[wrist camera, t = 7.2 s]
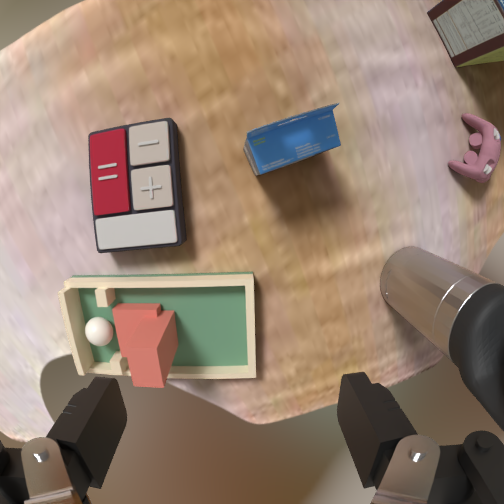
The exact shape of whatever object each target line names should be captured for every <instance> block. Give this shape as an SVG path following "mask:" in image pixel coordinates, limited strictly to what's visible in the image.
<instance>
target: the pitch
mask: <svg viewBox="0 0 504 504" xmlns="http://www.w3.org/2000/svg"><path fill="white" fill-rule="evenodd" d="M64 286H65V288H64V289H62V290H61V291H59V292H58V297H59V302H60V306H61V311H62V316H63V320H64V324H65V328H66V332H67V336H68V340H69V344H70V347H71V351H72V355H73V358H74V361H75V364H76V368H77V371H78V374H79V375H85V374H86V372H89V373H99V374H109V375H120V376H131V373H130V369H129V365H128V360H127V357H122V356H121V351H120V347H119V342H118V338H117V333H116V328H115V323H114V317H113V312H112V309H113V308H114V307H115V306H116V305H117V304H118V303H160V305H161V311H169V310H174V313H175V321H176V329H177V337H178V344H179V345H178V348H177V350H176V353H175V356H174V359H173V362H172V365H171V368H170V371H169V374H168V377H167V378H177V379H234V378H256V355H255V313H254V278H253V272H227V273H192V274H148V275H77V276H72V277H71V278H69V279H67V280H66V281H64ZM94 317H103V318H105V319H107V320H108V321H109V322H110V323H111V325H112V327H113V337H112V340H111V341H110V342H109V343H108V344H107V345H104V346H96V345H93V344H92V343H90V342H89V340H88V339H87V337H86V334H85V327H86V324H87V323H88V321H89V320H90V319H92V318H94Z"/></svg>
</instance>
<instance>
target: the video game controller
mask: <svg viewBox="0 0 504 504" xmlns="http://www.w3.org/2000/svg"><path fill="white" fill-rule="evenodd" d="M462 119H463V120H464V121H465V122H466V123H467V124H468V125H470V126H471V127H473V128H474V129H476V130H478V131H479V132H477V133H474V134H472V135H471V136H470V137H469V142H470V144H471V146H472V147H473V148H474V149H480V153H479V156H477V154H476V153H475V152H474V151H468V152H467V153H466V154H465V155H464V160H465V162H466V164H464V163H462V162H459V161H449V162H448V165H449V167H450V168H451V169H453V170H454V171H456V172H457V173H459V174H462V175H464V176H466V177H469V178H472V179H475V180H476V181H477V182H480V183H484V182H486V181H487V180H489V178H490V177H491V174H492V172H493V171H494V169H495V167H496V166H497V163H498V160H499V157H500V151H501V137H500V134H499V132H498V130H497V128H496V127H495V126H494V125H493V124H491V123H489V122H488V121H486V120H483V119H481V118H479V117H477V116H475V115H472V114H468V113H465V114H462Z"/></svg>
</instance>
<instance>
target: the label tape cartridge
mask: <svg viewBox="0 0 504 504" xmlns="http://www.w3.org/2000/svg"><path fill="white" fill-rule="evenodd" d="M338 104H339V103H336V104H332V105H328V106H325V107H321V108H318V109H314V110H311V111H308V112H304V113H301V114H298V115H294V116H291V117H288V118H285V119H282V120H279V121H276V122H273V123H270V124H267V125H265V126H262V127H259V128H256V129H253V130H251V131H248V132H247V139H246V141H245V145H244V149H243V150H244V152H245V154H246V156H247V159H248V161H249V163H250V165H251V168H252V170H253V172H254V175H255V176H257V175H261V174H264V173H267V172H270V171H273V170H276V169H279V168H282V167H284V166H287V165H290V164H293V163H296V162H299V161H301V160H304V159H307V158H309V157H312V156H315V155H317V154H320V153H322V152H325V151H328V150H330V149H333V148H336V147H338V146H340V145H341V144H340V140H339V135H338V131H337V126H336V122H335V118H334V114H333V109H334V108H335V107H336V106H337V105H338ZM296 118H298V119H296ZM292 119H295V120H292ZM290 120H292V121H290ZM285 122H287V123H285ZM282 123H284V124H282ZM279 124H281V125H279Z"/></svg>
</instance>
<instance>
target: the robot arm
mask: <svg viewBox="0 0 504 504" xmlns="http://www.w3.org/2000/svg"><path fill="white" fill-rule="evenodd" d="M380 288H381V293H382V295H383V298H384V299H385V301H386V302H387V303H388V304H389V305H390V306H391V307H393V308H394V309H395V310H396V311H397V312H398V313H399V314H400V315H402V316H403V317H404V318H405V319H406V320H407V321H408V322H409V323H410V324H412V325H413V326H414V327H415V328H416V329H417V330H418V331H419V332H420V333H422V334H423V335H424V336H425V337H426V338H427V339H428V340H429V341H430V342H431V343H433V344H434V345H435V346H436V347H437V348H438V349H439V350H440V351H441V352H442V353H444V354H445V355H446V356H447V357H448V358H449V359H450V360H451V361H452V362H453V363H454V364H455V365H456V366H457V367H458V368H459V371H460V374H461V377H462V380H463V382H464V384H465V385H466V387H467V388H468V389H469V390H470V392H471V393H472V394H473V395H474V396H475V397H476V399H477V400H478V401H479V402H480V403H481V404H482V406H483V407H484V408H485V409H486V411H487V412H488V413H489V414H490V416H491V417H492V418H493V419H494V421H495V422H496V423H497V424H498V425H499V427H500V428H501V429H502V430H503V431H504V286H503V285H500V284H498V283H496V282H494V281H492V280H490V279H488V278H485V277H483V276H481V275H479V274H477V273H474V272H472V271H470V270H468V269H466V268H464V267H461V266H459V265H457V264H455V263H452V262H450V261H448V260H446V259H443V258H441V257H439V256H437V255H434V254H432V253H430V252H428V251H425V250H423V249H420V248H417V247H406V248H403V249H401V250H399V251H397V252H396V253H395V254H393V255H392V256H391V257H390V259H389V260H388V261H387V263H386V264H385V266H384V268H383V271H382V274H381V279H380ZM337 416H338V422H339V425H340V427H341V430H342V432H343V435H344V438H345V440H346V443H347V445H348V448H349V451H350V453H351V456H352V458H353V461H354V463H355V466H356V468H357V471H358V474H359V477H360V479H361V482H362V485H363V487H364V488H368V487H372V486H375V488H376V490H377V492H376V494H375V495H374V497H373V499H372V501H371V503H370V504H504V445H503V443H502V442H501V441H500V440H499V438H498V437H497V436H496V435H494V434H492V433H490V432H487V431H476V432H473V433H471V434H469V435H468V436H467V437H466V438H465V440H464V443H463V444H460V445H449V446H439V445H438V444H437V443H436V442H435V441H434V440H433V439H432V438H430V437H427V436H424V435H418V434H417V433H416V431H415V429H414V428H413V426H412V424H411V423H410V421H409V420H408V418H407V417H406V415H405V414H404V412H403V411H402V409H400V406H399V404H398V403H397V402H396V401H395V398H394V397H393V396H392V394H391V392H390V391H389V390H388V389H387V388H385V387H384V386H382V385H381V384H379V383H375V384H372V383H371V382H370V380H369V378H368V377H367V375H366V374H365V372H358V373H351V374H344V375H343V376H342V379H341V386H340V393H339V399H338V406H337ZM126 422H127V413H126V408H125V405H124V402H123V398H122V395H121V391H120V388H119V384H118V382H117V380H116V379H115V378H105V377H95V378H94V379H93V381H92V382H91V384H90V385H89V387H88V388H87V389H86V388H83V389H82V390H80V391H79V392H77V393H76V394H75V395H73V397H72V398H71V400H70V401H69V403H68V406H66V408H65V409H64V410H63V413H62V414H61V415H60V416H59V418H58V419H57V421H56V422H55V424H54V425H53V427H52V428H51V430H50V431H49V433H48V434H47V436H46V437H39V438H34V439H32V440H30V441H28V442H27V443H26V444H25V445H24V446H23V448H22V449H20V448H18V449H17V448H5V447H4V446H3V444H2V443H1V441H0V504H92V502H91V500H90V498H89V496H88V494H87V490H88V488H89V486H90V487H94V488H99V489H101V487H102V484H103V482H104V479H105V476H106V474H107V471H108V469H109V466H110V464H111V461H112V459H113V456H114V454H115V451H116V448H117V446H118V444H119V441H120V439H121V436H122V434H123V431H124V429H125V426H126Z"/></svg>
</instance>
